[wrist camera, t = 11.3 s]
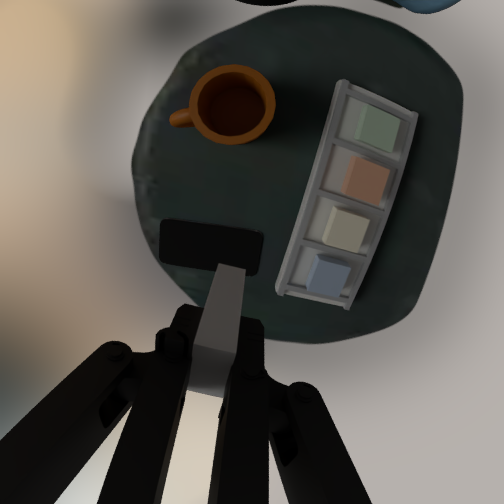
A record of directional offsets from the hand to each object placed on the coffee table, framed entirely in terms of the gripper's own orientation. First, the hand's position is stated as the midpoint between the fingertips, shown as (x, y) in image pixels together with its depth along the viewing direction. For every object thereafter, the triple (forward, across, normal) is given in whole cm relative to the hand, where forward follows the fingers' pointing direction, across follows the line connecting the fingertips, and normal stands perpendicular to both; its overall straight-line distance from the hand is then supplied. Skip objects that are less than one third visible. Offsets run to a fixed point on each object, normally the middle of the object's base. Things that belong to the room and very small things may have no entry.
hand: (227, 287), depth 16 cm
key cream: (+22, +13, 0) cm, 25 cm away
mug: (+24, -6, +11) cm, 27 cm away
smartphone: (+25, -4, -8) cm, 26 cm away
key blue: (+21, +13, -7) cm, 26 cm away
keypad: (+24, +13, +4) cm, 28 cm away
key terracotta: (+21, +13, +7) cm, 26 cm away
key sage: (+22, +14, +14) cm, 29 cm away
